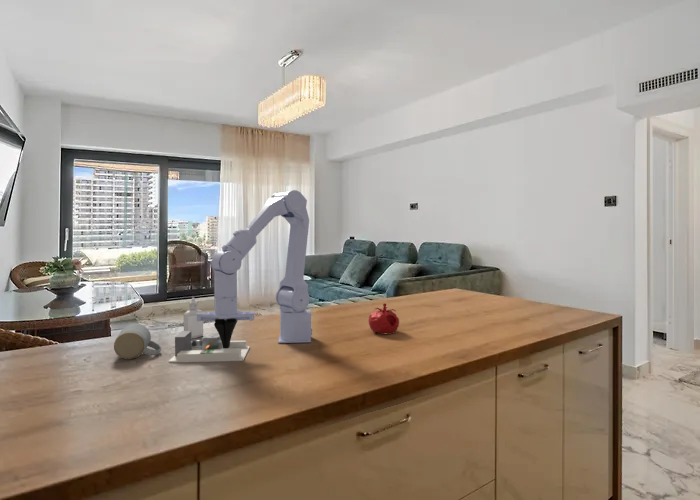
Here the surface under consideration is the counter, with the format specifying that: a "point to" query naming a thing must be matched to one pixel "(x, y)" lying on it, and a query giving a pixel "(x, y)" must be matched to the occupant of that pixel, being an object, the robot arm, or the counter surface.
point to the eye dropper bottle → (193, 320)
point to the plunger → (209, 342)
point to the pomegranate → (383, 321)
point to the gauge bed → (206, 351)
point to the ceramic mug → (135, 342)
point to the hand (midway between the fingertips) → (226, 347)
